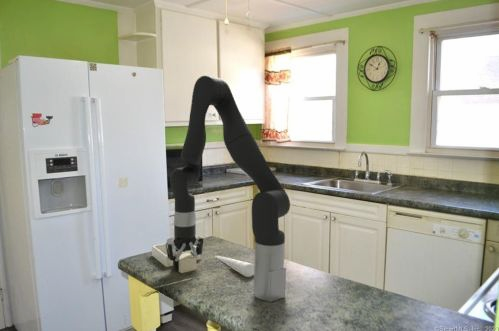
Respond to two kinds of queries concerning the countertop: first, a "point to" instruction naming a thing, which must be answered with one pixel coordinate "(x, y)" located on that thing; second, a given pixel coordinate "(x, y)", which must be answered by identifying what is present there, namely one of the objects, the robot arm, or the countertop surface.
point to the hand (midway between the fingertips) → (185, 268)
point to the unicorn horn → (239, 266)
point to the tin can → (171, 242)
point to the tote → (161, 254)
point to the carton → (187, 263)
